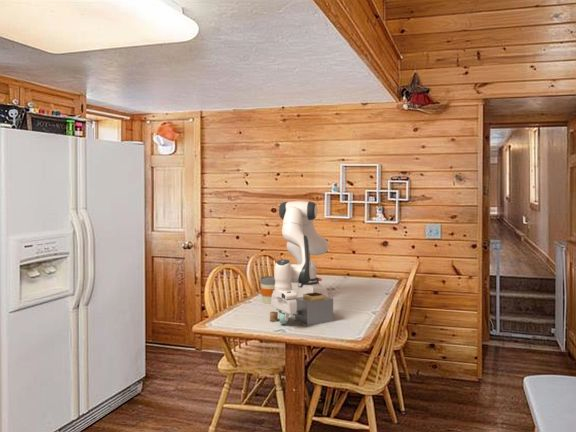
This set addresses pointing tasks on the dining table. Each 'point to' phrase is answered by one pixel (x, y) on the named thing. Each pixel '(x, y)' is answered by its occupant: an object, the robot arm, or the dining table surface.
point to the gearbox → (314, 309)
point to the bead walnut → (273, 316)
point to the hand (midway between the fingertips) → (283, 318)
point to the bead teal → (282, 318)
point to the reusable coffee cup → (267, 288)
